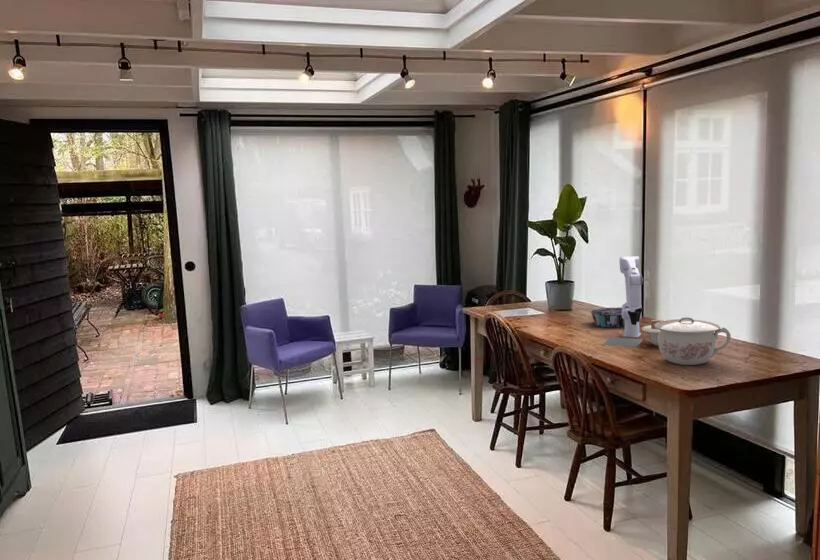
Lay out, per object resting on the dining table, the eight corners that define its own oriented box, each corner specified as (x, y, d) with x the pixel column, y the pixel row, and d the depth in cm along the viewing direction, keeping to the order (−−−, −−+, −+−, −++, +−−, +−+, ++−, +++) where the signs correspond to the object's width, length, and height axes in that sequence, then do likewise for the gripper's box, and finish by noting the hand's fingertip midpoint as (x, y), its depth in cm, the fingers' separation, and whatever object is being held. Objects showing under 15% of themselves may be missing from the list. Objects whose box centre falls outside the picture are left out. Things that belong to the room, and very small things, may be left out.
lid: (640, 326, 316) (640, 317, 316) (672, 326, 312) (672, 317, 311) (642, 332, 302) (642, 323, 301) (675, 333, 298) (675, 323, 297)
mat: (610, 337, 329) (610, 337, 329) (643, 340, 320) (643, 339, 320) (602, 345, 314) (602, 344, 314) (636, 347, 305) (636, 347, 305)
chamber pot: (640, 359, 283) (640, 316, 280) (683, 351, 294) (683, 309, 291) (690, 373, 257) (690, 326, 255) (735, 363, 268) (736, 317, 266)
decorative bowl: (643, 331, 349) (644, 314, 347) (594, 329, 350) (595, 312, 349) (629, 322, 374) (630, 306, 373) (584, 320, 376) (585, 305, 374)
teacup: (670, 342, 311) (670, 327, 310) (674, 347, 301) (674, 332, 300) (642, 342, 315) (642, 327, 314) (644, 347, 305) (644, 331, 304)
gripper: (630, 294, 321) (630, 320, 322) (624, 299, 308) (624, 325, 310) (644, 295, 317) (644, 320, 319) (638, 300, 305) (638, 326, 306)
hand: (635, 323), depth 314 cm, fingers open, 7 cm apart
